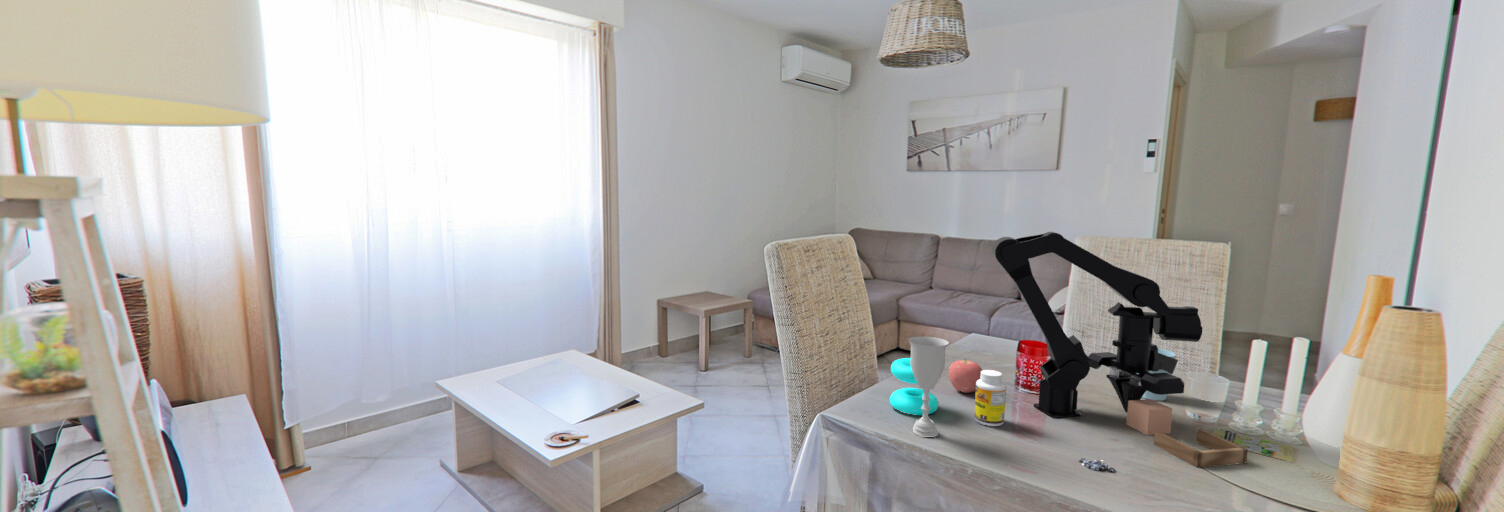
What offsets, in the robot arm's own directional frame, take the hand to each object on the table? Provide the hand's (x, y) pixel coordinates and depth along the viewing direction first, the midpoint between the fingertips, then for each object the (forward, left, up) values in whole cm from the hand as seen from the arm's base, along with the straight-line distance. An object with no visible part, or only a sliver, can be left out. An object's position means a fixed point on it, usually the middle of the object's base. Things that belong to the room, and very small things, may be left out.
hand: (1129, 412), depth 118 cm
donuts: (-41, +12, -2) cm, 43 cm away
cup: (+15, +11, -2) cm, 18 cm away
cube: (0, -5, -1) cm, 5 cm away
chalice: (-44, 0, -1) cm, 44 cm away
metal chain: (-21, -17, -2) cm, 27 cm away
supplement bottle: (-29, +3, -2) cm, 29 cm away
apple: (-25, +20, -2) cm, 32 cm away
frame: (0, -15, -1) cm, 15 cm away
